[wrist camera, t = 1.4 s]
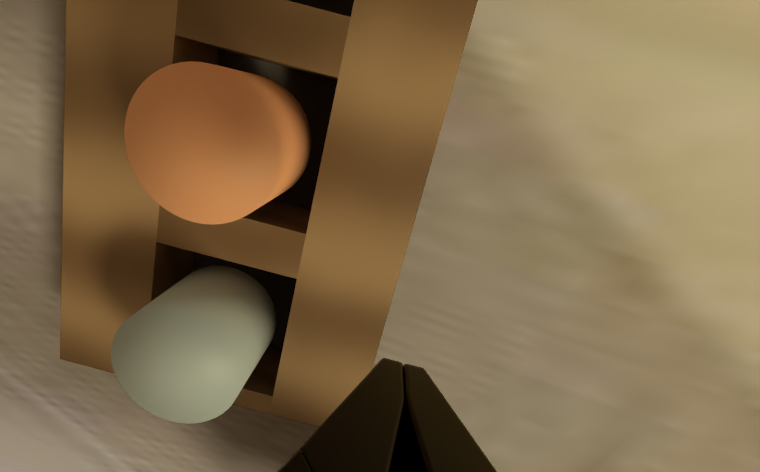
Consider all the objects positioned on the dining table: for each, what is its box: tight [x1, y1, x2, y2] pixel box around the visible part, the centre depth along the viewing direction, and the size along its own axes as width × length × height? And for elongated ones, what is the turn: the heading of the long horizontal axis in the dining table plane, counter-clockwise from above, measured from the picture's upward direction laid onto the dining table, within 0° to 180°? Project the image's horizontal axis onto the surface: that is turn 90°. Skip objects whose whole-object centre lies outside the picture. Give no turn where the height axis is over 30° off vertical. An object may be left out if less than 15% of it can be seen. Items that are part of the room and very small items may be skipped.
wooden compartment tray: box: [60, 0, 478, 427], centre depth 17 cm, size 24×14×4 cm, turn 166°
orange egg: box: [124, 61, 311, 225], centre depth 14 cm, size 5×5×4 cm
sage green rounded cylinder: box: [111, 266, 277, 424], centre depth 17 cm, size 5×5×4 cm
